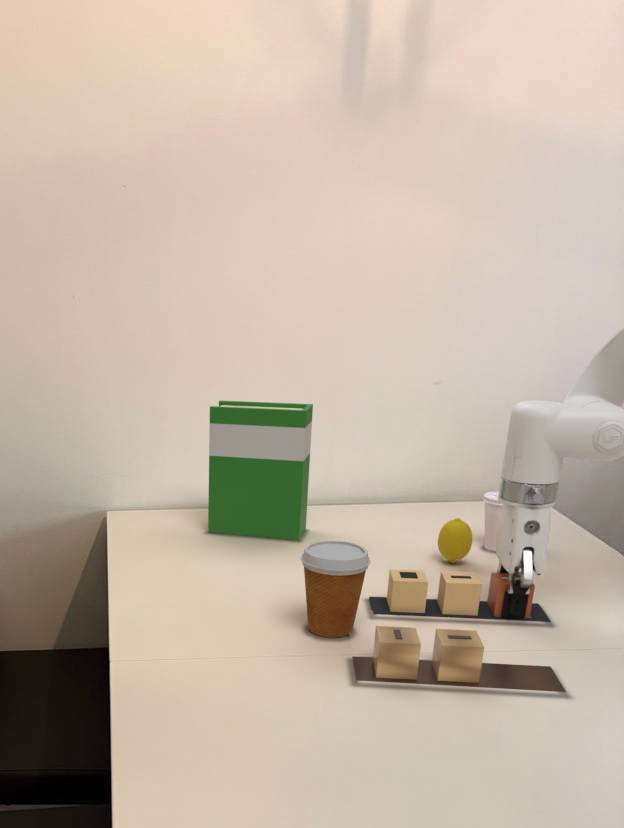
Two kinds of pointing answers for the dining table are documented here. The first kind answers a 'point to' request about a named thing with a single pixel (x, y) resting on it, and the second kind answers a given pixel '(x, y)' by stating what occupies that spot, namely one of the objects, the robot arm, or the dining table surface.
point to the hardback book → (259, 468)
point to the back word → (440, 597)
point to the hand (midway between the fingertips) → (508, 609)
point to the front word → (446, 663)
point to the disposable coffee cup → (333, 585)
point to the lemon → (455, 540)
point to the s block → (498, 590)
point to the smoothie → (492, 518)
